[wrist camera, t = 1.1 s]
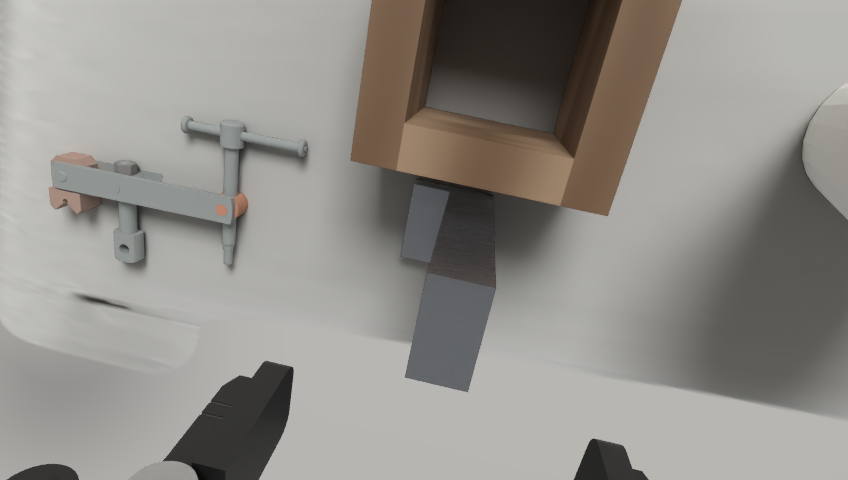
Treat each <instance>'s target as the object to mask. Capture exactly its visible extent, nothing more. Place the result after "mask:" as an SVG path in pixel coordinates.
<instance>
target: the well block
mask: <svg viewBox="0 0 848 480" xmlns="http://www.w3.org/2000/svg"><path fill="white" fill-rule="evenodd" d="M681 2H682V0H591V1H590V4H589V8H588V11H587V15H586V19H585V22H584V26H583V29H582V33H581V36H580V40H579V43H578V47H577V50H576V54H575V57H574V61H573V65H572V68H571V72H570V75H569V79H568V82H567V86H566V89H565V93H564V96H563V100H562V103H561V107H560V111H559V114H558V118H557V121H556V125H555V128H554V132H553V134H552V133H548V132H543V131H538V130H533V129H528V128H524V127H519V126H514V125H509V124H505V123H500V122H495V121H490V120H485V119H481V118H476V117H471V116H466V115H461V114H457V113H452V112H447V111H442V110H438V109H433V108H428V107H425V103H426V98H427V92H428V87H429V81H430V76H431V71H432V65H433V60H434V54H435V49H436V43H437V38H438V33H439V27H440V22H441V16H442V11H443V5H444V0H372V5H371V12H370V20H369V27H368V34H367V42H366V49H365V57H364V64H363V71H362V79H361V86H360V94H359V101H358V108H357V116H356V123H355V131H354V138H353V145H352V153H351V160H350V161H354V162H359V163H363V164H368V165H373V166H377V167H382V168H387V169H391V170H396V171H401V172H405V173H410V174H414V175H419V176H424V177H428V178H433V179H438V180H442V181H447V182H452V183H456V184H461V185H465V186H470V187H475V188H479V189H484V190H489V191H493V192H498V193H503V194H507V195H512V196H516V197H521V198H526V199H530V200H535V201H540V202H544V203H549V204H553V205H558V206H563V207H567V208H572V209H577V210H581V211H586V212H591V213H595V214H600V215H604V216H608V214H609V211H610V208H611V205H612V202H613V199H614V196H615V193H616V191H617V188H618V185H619V182H620V179H621V176H622V173H623V170H624V167H625V164H626V162H627V159H628V156H629V153H630V150H631V147H632V144H633V141H634V138H635V135H636V132H637V130H638V127H639V124H640V121H641V118H642V115H643V112H644V109H645V106H646V103H647V100H648V98H649V95H650V92H651V89H652V86H653V83H654V80H655V77H656V74H657V71H658V69H659V66H660V63H661V60H662V57H663V54H664V51H665V48H666V45H667V42H668V39H669V37H670V34H671V31H672V28H673V25H674V22H675V19H676V16H677V13H678V10H679V8H680V5H681Z"/></svg>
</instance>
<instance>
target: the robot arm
mask: <svg viewBox="0 0 848 480" xmlns="http://www.w3.org/2000/svg"><path fill="white" fill-rule="evenodd" d="M292 382H293V367H290V366H286V365H282V364H277V363H273V362H269V361H265V362H264V363H263V364H262V365H261V366H260V368H259V369H258V370H257V372H256V373H255V375H254V376H253V377H252V378H249V377H244V376H238V377H236V378H235V379H233V380H232V381H230V382H228V383H227V384H225V385H223V386H222V387H221V389H220V390H219V391H218V392H217V394H216V395H215V396H214V397H213V399H212V400H211V403H209V404H208V405H207V406H206V408H205V409H204V410H203V411H202V414H201V415H200V416H198V418H197V419H196V420H195V421H194V423H193V424H192V425H191V427H190V428H189V429H188V430H187V432H186V433H185V434H184V435H183V437H182V438H181V439H180V440H179V442H178V443H177V444H176V446H175V447H174V448H173V449H172V451H171V452H170V453H169V455H168V456H167V457H166V458H165V459H164V460H163V461H162V462H158V463H154V464H151V465H149V466H147V467H144V468H143V469H141V470H139V471H138V472H137V473H135V474H134V475H133V476H132V477H131V478H130V479H129V480H259V478H260V476H261V474H262V472H263V470H264V468H265V466H266V465H267V463H268V461H269V459H270V457H271V455H272V453H273V451H274V450H275V448H276V446H277V444H278V442H279V440H280V438H281V436H282V434H283V432H284V429H285V426H286V423H287V420H288V415H289V408H290V399H291V390H292ZM7 480H79V479H78V475H77V474H76V472H75V471H74V470H73V469H72V468H70V467H68V466H64V465H59V464H46V465H40V466H35V467H32V468H29V469H26V470H24V471H21V472H19V473H17V474H15V475H14V476H12V477H10V478H9V479H7ZM574 480H648V478H647V477H646V476H645V475H644V473H643V472H642V471H639V470H635V469H632V466H631V464H630V461H629V458H628V455H627V452H626V450H625V448H624V447H623V446H622V445H619V444H615V443H611V442H606V441H602V440H597V439H592V440H591V441H590V442H589V444H588V447H587V449H586V451H585V454H584V456H583V459H582V461H581V464H580V466H579V468H578V471H577V473H576V476H575V479H574Z"/></svg>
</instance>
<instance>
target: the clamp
mask: <svg viewBox="0 0 848 480" xmlns="http://www.w3.org/2000/svg"><path fill="white" fill-rule="evenodd" d="M181 129H182V131H183V132H184V133H190V132H191V131H197V132H202V133H207V134H212V135H217V136H220V146H222V147H225V151H224V187H223V193H222V194H215V193H211V192H206V191H201V190H196V189H191V188H187V187H182V186H177V185H172V184H167V183H163V182H162V174H157V173H152V172H148V171H143V170H138V169H137V164H136V163H135V162H133V161H126V160H122V161H116V162H114V164H109V163H104V162H100V161H96V160H95V159H94V158H93V157H92V156H90V155H85V154H81V153H76V152H71V153H67V154H63V155H58V156H56V157H55V158H53V159H52V160H51V174H52V180H53V187H50V188H49V195H50V204H51V205H52V207H53V208H54V209H59V208H61V207H64V206H67V205H69V206H70V207H71V208H72V210H73V211H74V212H75V213H76V214H79V213H81V212H84V211H86V210H89V209H91V208H94V207H97V206H98V205H99V204H101V199H100V197H102V198H107V199H111V200H116V201H118V210H119V228H117V229H115V230H114V231H113V233H114V250H115V259H117V260H119V261H122V262H126V263H135V262H137V261H140V260H141V259H143V258H144V257H145V254H144V231H143V230H138V224H137V205H140V206H144V207H149V208H154V209H159V210H163V211H168V212H173V213H178V214H182V215H187V216H192V217H196V218H201V219H206V220H211V221H215V222H220V223H222V244H223V249H224V264H226V265H230V264H232V263H233V250H234V245H235V243H236V219H237V217H238V216H240V215H241V214H243V213H244V212H245V211H246V210H247V208H248V201H247V198H246V196H245V195H244V194H243V193H238V167H239V149H242V148H244V141H245V142H250V143H255V144H260V145H265V146H269V147H274V148H279V149H284V150H289V151H294V152H297V153H298V156H299V157H304V156H305V155H306V153H307V149H308V144H307V142H306V141H305V140H301V141H300V142H299V143H296V142H291V141H286V140H282V139H277V138H272V137H267V136H262V135H257V134H252V133H248V132H245V125H244V124H243V123H242V122H240V121H235V120H223V121H222V122H221V123H220V127H219V126H214V125H209V124H204V123H199V122H194V121H193V119H192V118H191V117H190V116H185V117H184V118H183V119H182V121H181Z"/></svg>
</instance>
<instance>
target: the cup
mask: <svg viewBox="0 0 848 480" xmlns="http://www.w3.org/2000/svg"><path fill="white" fill-rule="evenodd" d="M802 159H803V163H804V167H805V171H806V174H807V176H808V177H809V179H810V180H811V182H812V183H813V185H814V186H815V187H816V188H817V189H818V190H819V191H820V192H821V193H822V194H823V195H824V196H825V197H826V198H827V199H828V200H829V201H830V202H831V203H832V204H833V206H834V207H835V208H836V209H837V210H838V211H839V212H840V213H841V214H842V215H843V216H844V217H845V218H846V219H847V220H848V82H847V83H846V84H844V85H843V86H841V87H840V88H838V89H837V90H835V91H834V92H833V93H832V94H831V95H830V96H829V97H828V98H827V99H826V100H825V101H824V102H823V103H822V104H821V106H820V107H819V109H818V110H817V112H816V113H815V115H814V116H813V118H812V119H811V121H810V123H809V125H808V128H807V131H806V134H805V137H804V140H803V152H802Z"/></svg>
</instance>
